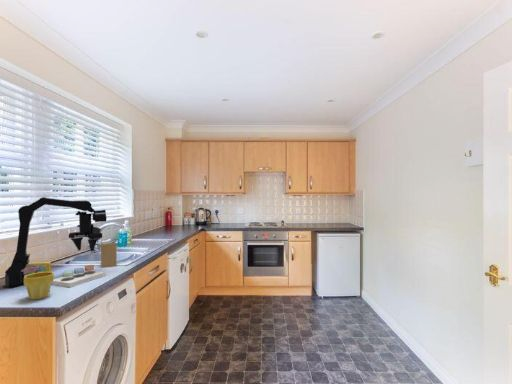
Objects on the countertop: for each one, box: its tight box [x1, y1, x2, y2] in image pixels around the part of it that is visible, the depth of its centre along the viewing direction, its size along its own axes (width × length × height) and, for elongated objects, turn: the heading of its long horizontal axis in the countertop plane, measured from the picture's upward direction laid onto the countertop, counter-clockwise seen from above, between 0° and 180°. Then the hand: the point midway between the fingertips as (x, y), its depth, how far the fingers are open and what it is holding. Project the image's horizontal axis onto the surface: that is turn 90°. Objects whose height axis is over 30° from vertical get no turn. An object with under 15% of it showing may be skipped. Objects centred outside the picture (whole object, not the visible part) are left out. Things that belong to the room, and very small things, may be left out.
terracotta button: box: [84, 264, 95, 271], centre depth 149 cm, size 4×4×2 cm
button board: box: [51, 270, 106, 288], centre depth 144 cm, size 20×14×2 cm
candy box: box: [22, 261, 52, 276], centre depth 148 cm, size 16×2×8 cm, turn 95°
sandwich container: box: [100, 242, 118, 269], centre depth 175 cm, size 9×15×15 cm, turn 30°
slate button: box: [73, 267, 85, 274], centre depth 144 cm, size 4×4×2 cm
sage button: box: [61, 270, 74, 277], centre depth 138 cm, size 4×4×2 cm
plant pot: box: [23, 271, 55, 301], centre depth 120 cm, size 10×10×10 cm
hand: (85, 250), depth 152 cm, fingers open, 9 cm apart
